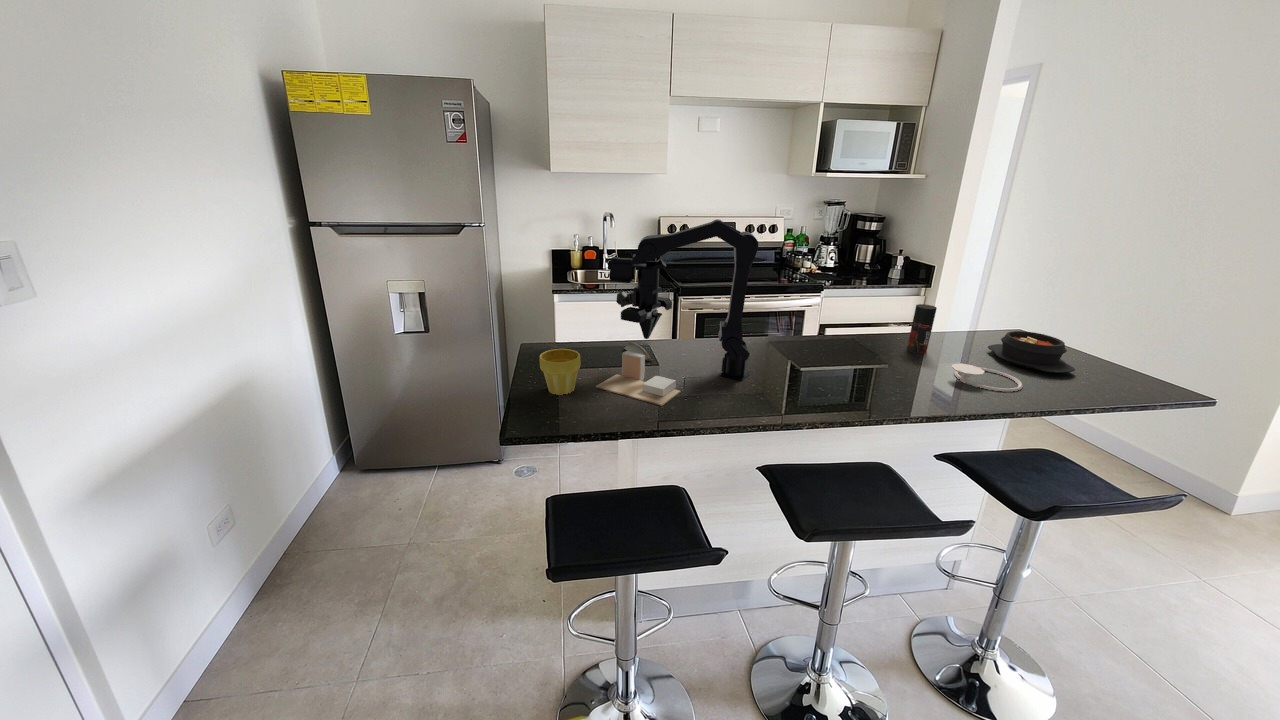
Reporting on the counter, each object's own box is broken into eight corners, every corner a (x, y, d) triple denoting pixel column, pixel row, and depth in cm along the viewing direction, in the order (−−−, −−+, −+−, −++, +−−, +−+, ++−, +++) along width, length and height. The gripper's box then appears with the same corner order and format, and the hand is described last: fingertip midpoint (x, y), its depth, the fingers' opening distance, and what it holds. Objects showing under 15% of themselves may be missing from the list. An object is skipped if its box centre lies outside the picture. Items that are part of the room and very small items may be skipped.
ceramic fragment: (652, 362, 161) (653, 350, 160) (638, 365, 158) (638, 353, 157) (629, 349, 172) (629, 338, 171) (615, 352, 169) (615, 340, 168)
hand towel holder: (1041, 376, 147) (980, 381, 142) (1037, 391, 148) (976, 396, 144) (990, 355, 162) (933, 359, 157) (986, 368, 164) (930, 372, 159)
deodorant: (911, 346, 181) (921, 303, 175) (929, 351, 176) (940, 307, 171) (903, 349, 177) (912, 305, 172) (921, 355, 173) (931, 310, 168)
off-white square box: (675, 380, 141) (663, 389, 135) (675, 387, 142) (662, 397, 136) (656, 375, 144) (642, 384, 138) (655, 382, 145) (642, 391, 139)
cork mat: (680, 392, 140) (680, 390, 140) (662, 406, 132) (662, 404, 132) (616, 375, 150) (616, 374, 150) (595, 387, 142) (595, 386, 142)
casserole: (1089, 376, 159) (1099, 350, 156) (1038, 380, 155) (1047, 353, 152) (1017, 348, 182) (1024, 325, 179) (971, 351, 178) (977, 327, 175)
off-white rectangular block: (644, 378, 148) (645, 355, 146) (640, 381, 146) (640, 357, 144) (625, 374, 151) (626, 350, 149) (621, 376, 149) (622, 353, 147)
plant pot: (533, 388, 140) (531, 353, 137) (567, 379, 146) (566, 345, 143) (554, 402, 133) (553, 365, 129) (588, 391, 139) (588, 356, 135)
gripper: (640, 274, 156) (639, 325, 162) (603, 286, 141) (603, 342, 147) (674, 279, 151) (671, 332, 157) (640, 292, 136) (638, 349, 142)
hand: (646, 338), depth 151 cm, fingers closed
